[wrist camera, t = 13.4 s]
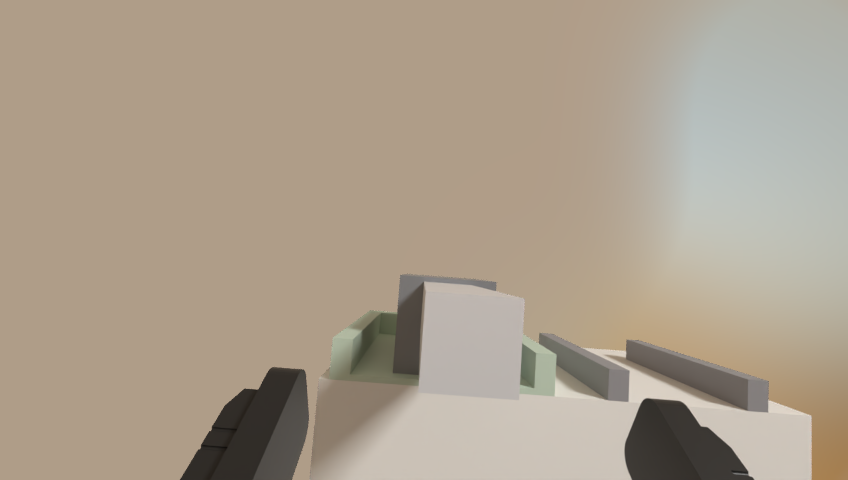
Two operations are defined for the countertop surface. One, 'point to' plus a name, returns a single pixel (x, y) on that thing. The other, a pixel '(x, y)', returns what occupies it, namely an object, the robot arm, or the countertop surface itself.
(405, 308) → the light grey rectangular prism
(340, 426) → the cabinet
